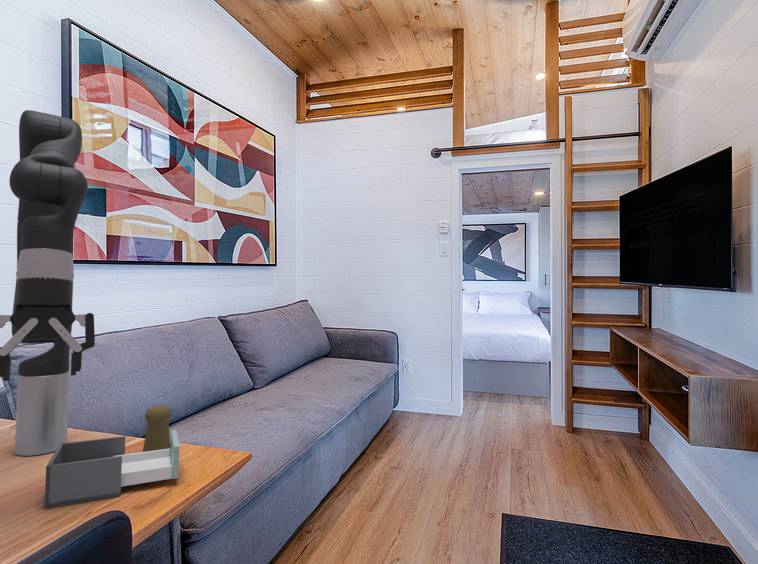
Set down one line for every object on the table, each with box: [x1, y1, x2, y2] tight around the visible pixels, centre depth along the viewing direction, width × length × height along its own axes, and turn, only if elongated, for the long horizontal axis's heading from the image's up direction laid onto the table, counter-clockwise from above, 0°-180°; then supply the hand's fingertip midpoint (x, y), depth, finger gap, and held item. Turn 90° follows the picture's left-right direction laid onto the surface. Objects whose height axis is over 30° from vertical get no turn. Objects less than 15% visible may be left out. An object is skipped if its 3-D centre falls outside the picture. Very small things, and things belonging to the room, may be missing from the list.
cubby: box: [44, 435, 126, 510], centre depth 80 cm, size 11×12×7 cm
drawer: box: [113, 429, 180, 487], centre depth 84 cm, size 11×11×6 cm
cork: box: [142, 404, 172, 452], centre depth 96 cm, size 6×6×11 cm
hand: (40, 377), depth 70 cm, fingers open, 8 cm apart
